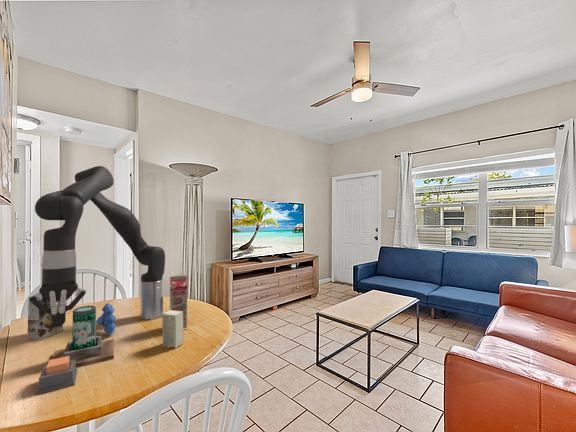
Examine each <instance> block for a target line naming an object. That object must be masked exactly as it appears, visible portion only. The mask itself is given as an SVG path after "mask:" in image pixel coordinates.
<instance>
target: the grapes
mask: <svg viewBox="0 0 576 432" xmlns="http://www.w3.org/2000/svg"><path fill="white" fill-rule="evenodd" d="M101 311H102V312H103V313H102V314H101V315H100V316H99V317H97V318H96V324H98V325H99V326H103V327H104V329H103V332H104V333H106V335H108V336H112V335H113V334H114V333H115V329H116V327H117V324H116V323H115V320H116V319H117V317H116V316H115V315H114V313H115V309H114V308H113V305H112V304H111V303H109V302H107V303H105V304H104V306H103V307H102V309H101Z"/></svg>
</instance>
